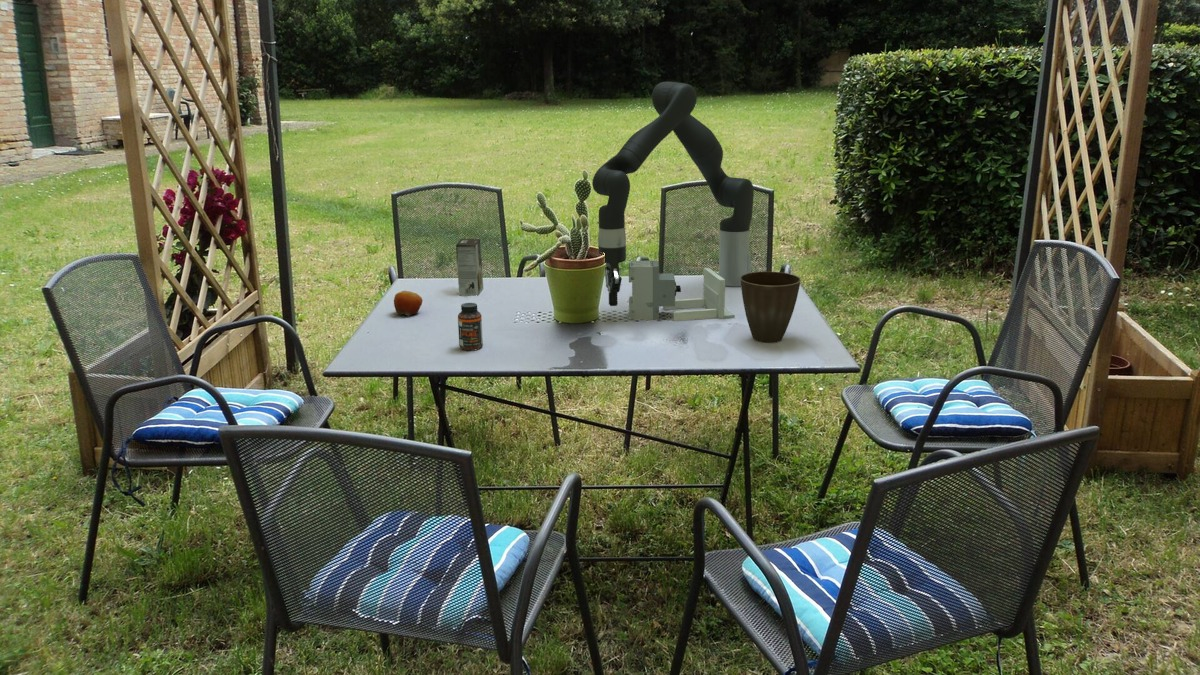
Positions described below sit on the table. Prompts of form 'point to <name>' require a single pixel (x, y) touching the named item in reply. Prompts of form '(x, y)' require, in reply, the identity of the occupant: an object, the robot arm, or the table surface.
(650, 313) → the circuit breaker
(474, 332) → the supplement bottle
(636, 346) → the table surface
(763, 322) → the plant pot
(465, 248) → the coffee box
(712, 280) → the rail bracket
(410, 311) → the fruit
